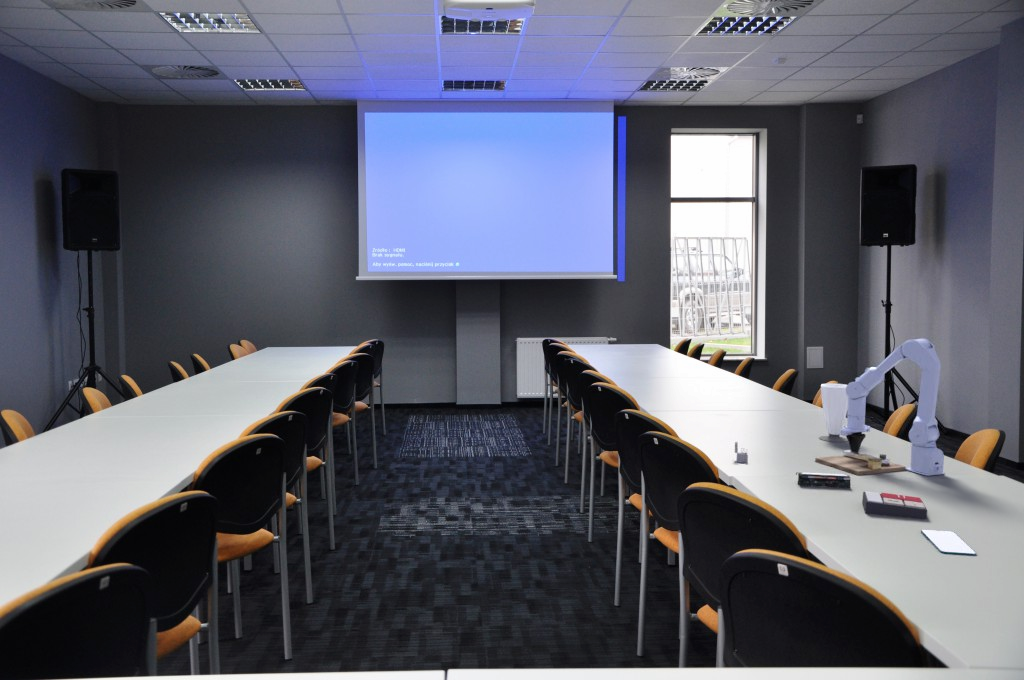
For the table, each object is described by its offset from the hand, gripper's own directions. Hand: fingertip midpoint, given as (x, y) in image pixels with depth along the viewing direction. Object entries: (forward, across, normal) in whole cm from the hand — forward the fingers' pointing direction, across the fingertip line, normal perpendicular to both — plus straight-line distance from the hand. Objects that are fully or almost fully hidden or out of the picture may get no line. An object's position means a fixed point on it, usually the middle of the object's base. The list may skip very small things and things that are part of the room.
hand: (854, 453), depth 277 cm
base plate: (+2, +7, +7) cm, 10 cm away
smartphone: (+2, +61, +65) cm, 89 cm away
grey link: (0, +3, +6) cm, 7 cm away
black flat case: (+3, +40, +18) cm, 44 cm away
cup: (+2, -24, -25) cm, 34 cm away
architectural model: (+3, +31, -20) cm, 38 cm away
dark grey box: (+2, +47, +43) cm, 63 cm away
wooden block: (+1, +11, +12) cm, 16 cm away
